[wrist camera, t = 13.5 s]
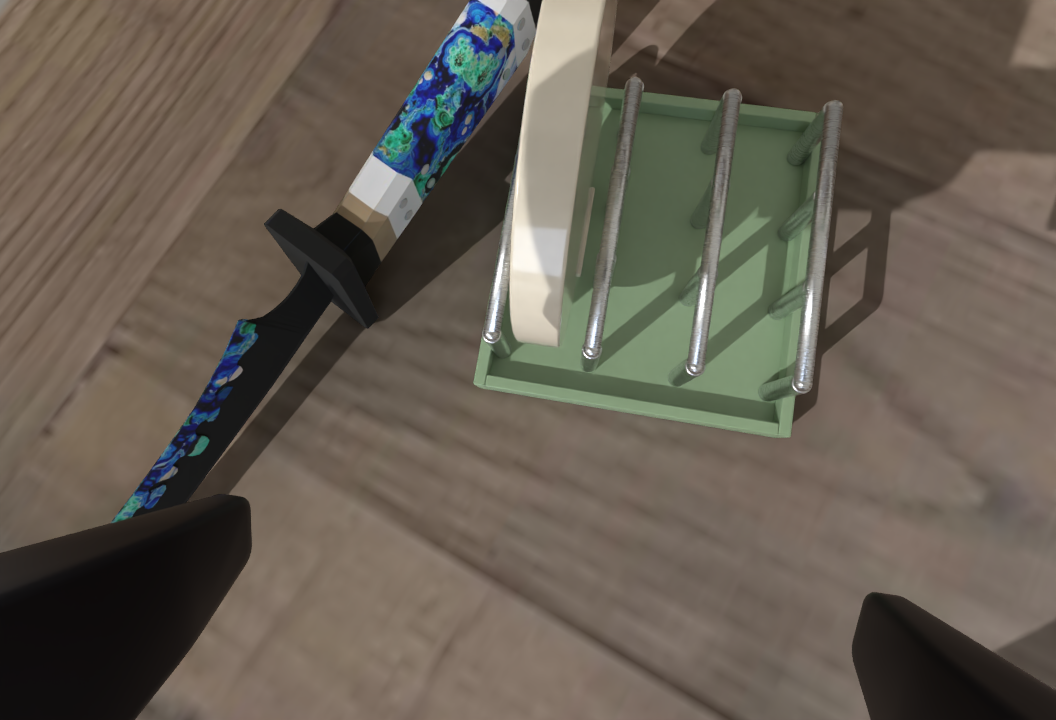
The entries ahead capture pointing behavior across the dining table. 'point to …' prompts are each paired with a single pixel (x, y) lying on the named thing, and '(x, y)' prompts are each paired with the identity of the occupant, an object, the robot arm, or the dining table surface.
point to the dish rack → (688, 266)
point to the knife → (348, 238)
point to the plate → (557, 164)
